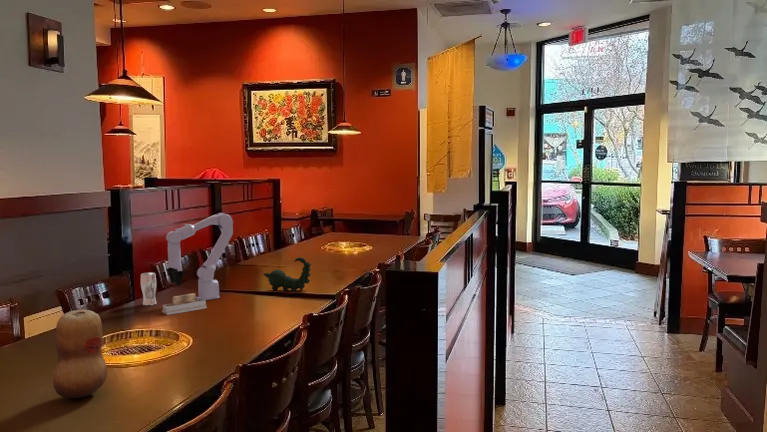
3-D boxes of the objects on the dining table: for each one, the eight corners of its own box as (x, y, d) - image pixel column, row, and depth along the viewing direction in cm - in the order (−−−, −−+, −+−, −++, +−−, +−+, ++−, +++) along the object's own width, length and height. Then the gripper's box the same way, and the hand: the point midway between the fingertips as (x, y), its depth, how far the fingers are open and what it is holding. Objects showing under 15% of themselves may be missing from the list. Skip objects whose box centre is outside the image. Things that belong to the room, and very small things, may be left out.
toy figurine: (310, 291, 293) (265, 287, 294) (312, 256, 291) (267, 252, 293) (306, 295, 283) (259, 291, 285) (308, 259, 281) (261, 255, 283)
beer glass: (160, 302, 267) (158, 272, 266) (152, 306, 260) (151, 275, 259) (146, 302, 268) (144, 272, 266) (139, 305, 261) (137, 275, 260)
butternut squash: (78, 409, 149) (71, 320, 147) (43, 402, 154) (37, 316, 152) (119, 390, 162) (114, 307, 160) (86, 383, 167) (81, 304, 165)
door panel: (194, 305, 256) (194, 293, 255) (196, 306, 254) (195, 293, 254) (173, 309, 249) (172, 296, 249) (174, 310, 248) (173, 297, 248)
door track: (201, 305, 260) (200, 298, 260) (206, 308, 255) (206, 300, 255) (162, 312, 249) (162, 304, 249) (167, 315, 244) (167, 307, 243)
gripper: (161, 255, 267) (162, 282, 269) (171, 258, 256) (172, 287, 257) (175, 253, 272) (177, 280, 273) (186, 257, 261) (187, 285, 262)
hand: (175, 283), depth 266 cm, fingers open, 7 cm apart
